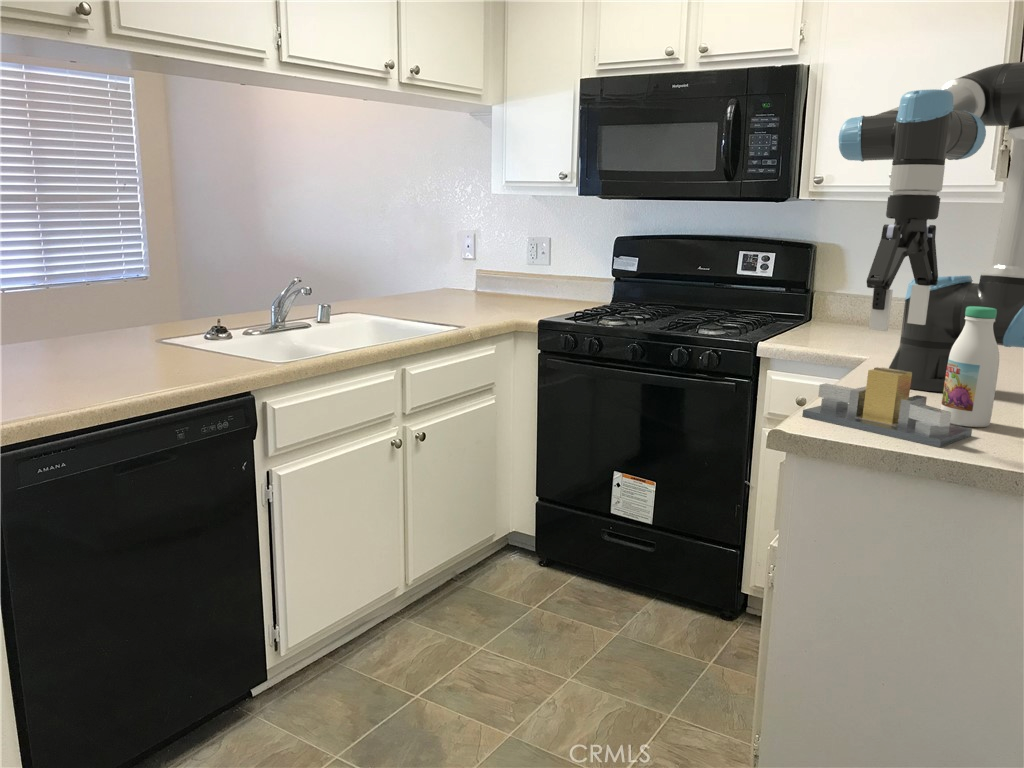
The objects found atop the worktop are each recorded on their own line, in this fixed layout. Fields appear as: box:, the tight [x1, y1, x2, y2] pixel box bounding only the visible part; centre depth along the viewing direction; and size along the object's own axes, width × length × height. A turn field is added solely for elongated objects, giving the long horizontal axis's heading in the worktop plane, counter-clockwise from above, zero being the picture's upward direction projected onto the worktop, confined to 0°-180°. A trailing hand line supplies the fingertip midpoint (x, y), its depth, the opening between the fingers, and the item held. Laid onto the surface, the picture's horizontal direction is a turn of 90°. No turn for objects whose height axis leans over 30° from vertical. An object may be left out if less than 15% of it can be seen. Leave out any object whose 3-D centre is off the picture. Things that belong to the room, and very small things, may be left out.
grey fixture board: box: [802, 383, 973, 448], centre depth 137 cm, size 12×23×6 cm, turn 41°
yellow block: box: [863, 367, 912, 423], centre depth 137 cm, size 5×5×8 cm
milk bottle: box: [940, 306, 1000, 428], centre depth 140 cm, size 8×8×20 cm
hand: (897, 327), depth 135 cm, fingers open, 13 cm apart
